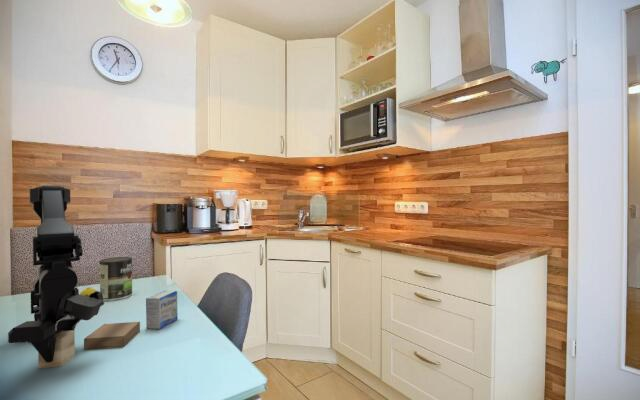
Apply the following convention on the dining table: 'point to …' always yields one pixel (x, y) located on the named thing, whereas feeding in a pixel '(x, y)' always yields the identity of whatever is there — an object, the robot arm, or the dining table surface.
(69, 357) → the birch block
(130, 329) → the walnut block
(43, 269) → the robot arm
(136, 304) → the dining table surface
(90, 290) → the lemon
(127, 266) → the coffee can
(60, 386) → the dining table surface
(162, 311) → the medicine box
